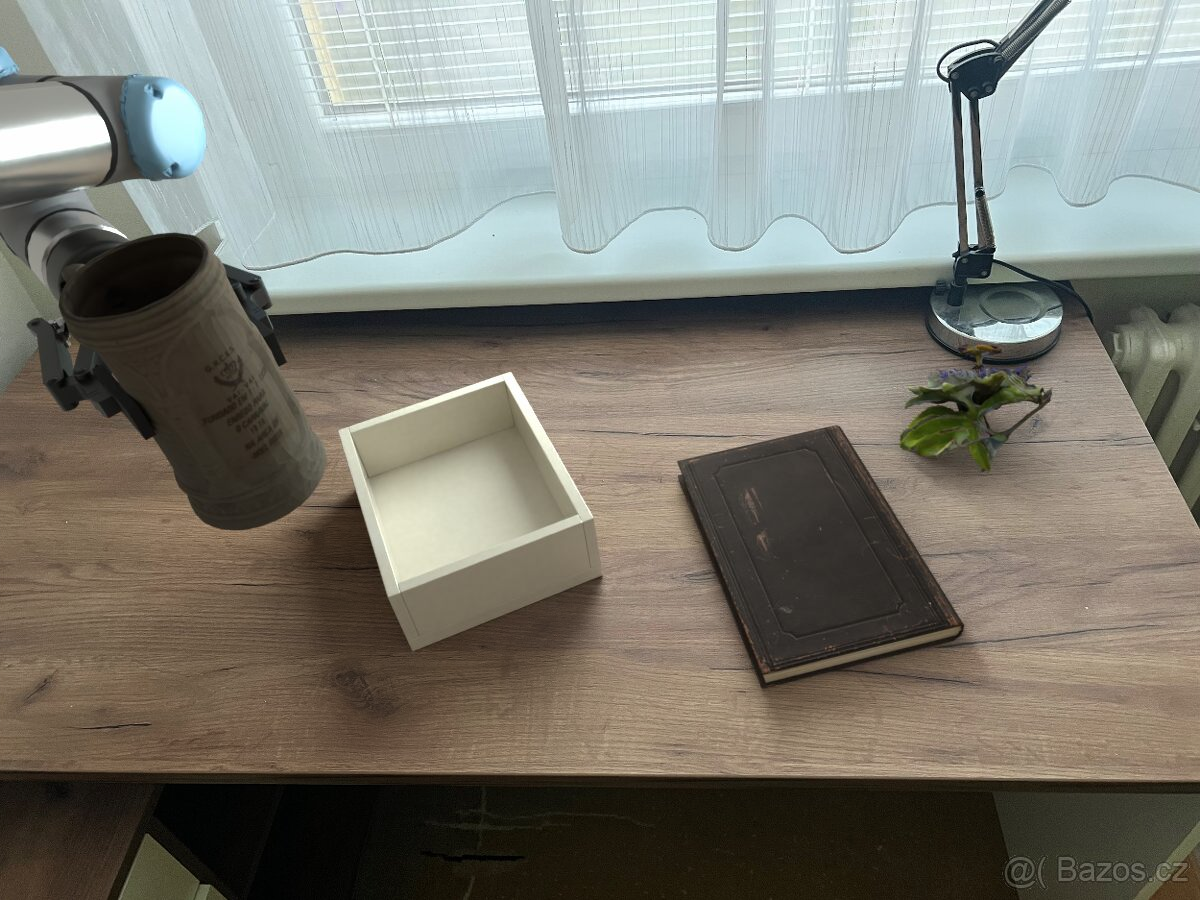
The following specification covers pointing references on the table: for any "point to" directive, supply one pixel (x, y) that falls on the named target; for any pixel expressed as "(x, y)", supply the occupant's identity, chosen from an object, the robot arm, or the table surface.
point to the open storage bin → (468, 509)
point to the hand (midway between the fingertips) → (211, 385)
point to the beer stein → (197, 377)
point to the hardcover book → (812, 557)
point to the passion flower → (968, 407)
